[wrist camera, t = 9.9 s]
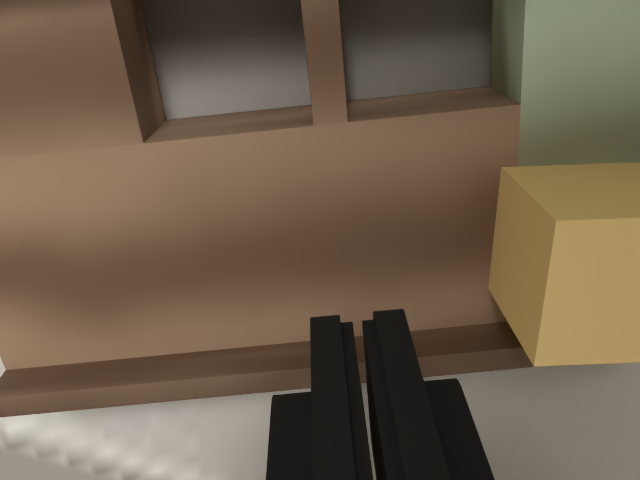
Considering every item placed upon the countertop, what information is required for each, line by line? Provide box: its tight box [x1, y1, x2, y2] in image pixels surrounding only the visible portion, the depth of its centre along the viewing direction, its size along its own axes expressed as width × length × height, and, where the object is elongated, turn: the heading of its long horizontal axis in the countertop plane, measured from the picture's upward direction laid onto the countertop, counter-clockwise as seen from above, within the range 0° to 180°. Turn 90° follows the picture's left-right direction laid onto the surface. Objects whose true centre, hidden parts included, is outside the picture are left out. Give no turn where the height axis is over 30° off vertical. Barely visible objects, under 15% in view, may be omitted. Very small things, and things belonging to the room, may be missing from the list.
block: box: [488, 162, 640, 367], centre depth 16 cm, size 4×4×4 cm
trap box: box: [0, 0, 640, 417], centre depth 18 cm, size 14×23×4 cm, turn 96°
